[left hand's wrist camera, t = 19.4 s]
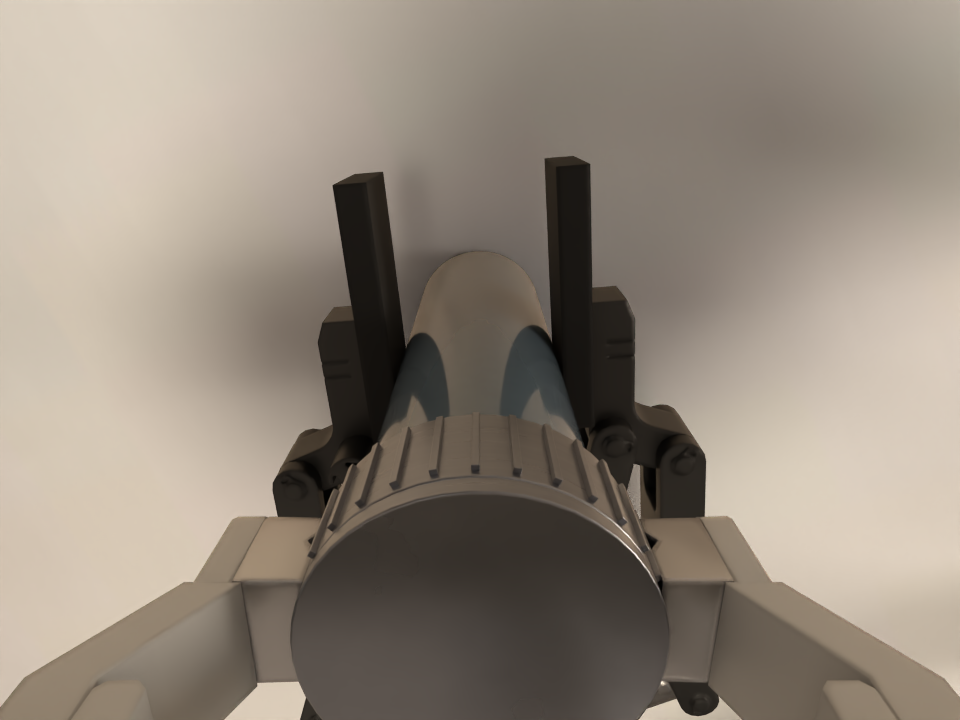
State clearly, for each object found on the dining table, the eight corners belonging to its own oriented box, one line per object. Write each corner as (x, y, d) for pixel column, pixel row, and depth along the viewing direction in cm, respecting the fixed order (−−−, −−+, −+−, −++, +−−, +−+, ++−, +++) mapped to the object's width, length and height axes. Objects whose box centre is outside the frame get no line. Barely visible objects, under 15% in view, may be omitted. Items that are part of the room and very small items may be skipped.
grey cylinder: (410, 347, 24) (306, 698, 10) (436, 236, 23) (361, 457, 8) (519, 374, 24) (577, 750, 10) (552, 267, 23) (676, 529, 9)
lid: (705, 517, 10) (759, 615, 8) (515, 714, 12) (522, 836, 10) (435, 343, 9) (421, 408, 7) (264, 584, 11) (214, 691, 9)
